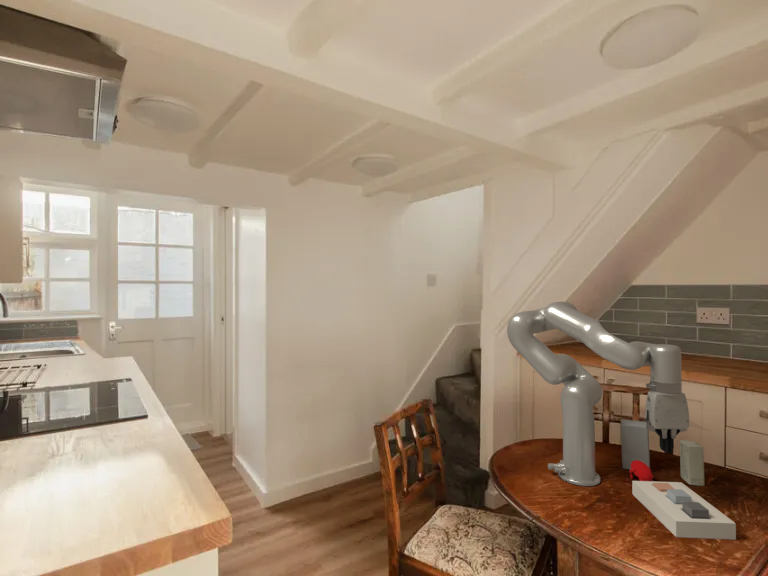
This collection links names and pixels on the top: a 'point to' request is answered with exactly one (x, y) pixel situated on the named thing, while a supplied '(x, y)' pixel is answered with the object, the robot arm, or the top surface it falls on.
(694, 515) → the charcoal button
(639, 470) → the cap
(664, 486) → the terracotta button
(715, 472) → the top surface
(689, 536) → the button panel
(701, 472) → the skincare box
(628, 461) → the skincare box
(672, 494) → the slate button
